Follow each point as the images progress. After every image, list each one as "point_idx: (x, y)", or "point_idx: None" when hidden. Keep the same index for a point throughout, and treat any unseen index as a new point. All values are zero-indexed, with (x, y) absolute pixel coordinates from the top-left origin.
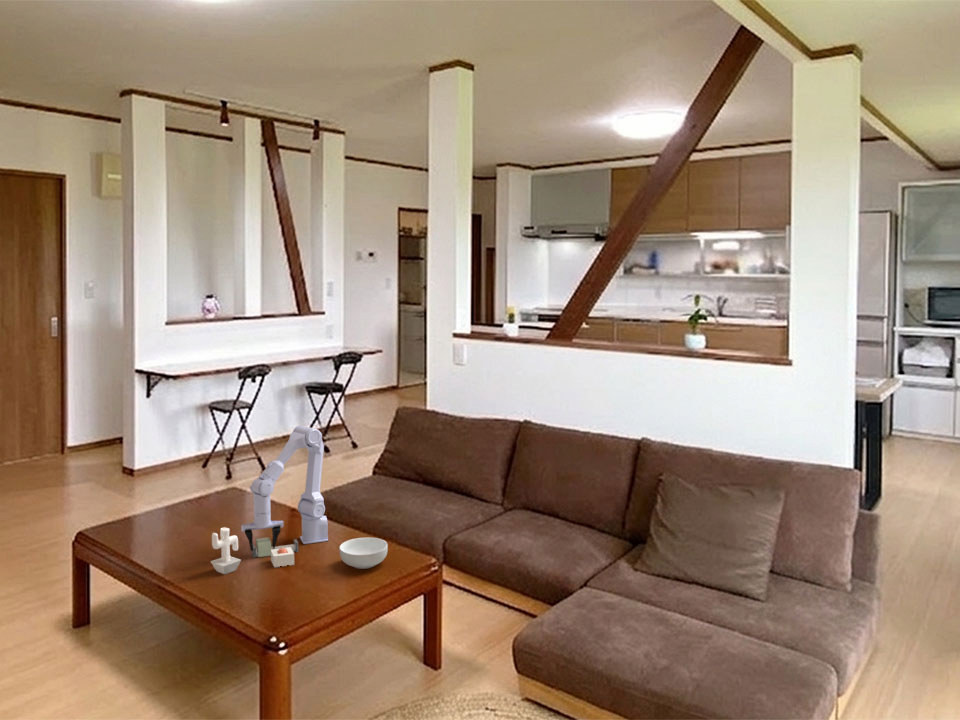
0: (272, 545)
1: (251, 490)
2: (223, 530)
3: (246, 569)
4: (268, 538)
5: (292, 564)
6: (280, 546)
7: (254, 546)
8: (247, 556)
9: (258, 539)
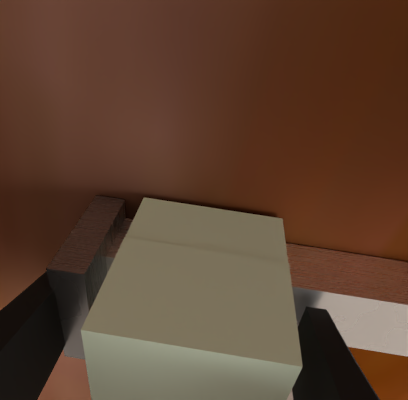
0: (306, 317)
1: None
2: None
3: (54, 388)
4: (272, 388)
5: None
6: (392, 316)
7: (82, 321)
8: (54, 222)
9: (115, 355)
